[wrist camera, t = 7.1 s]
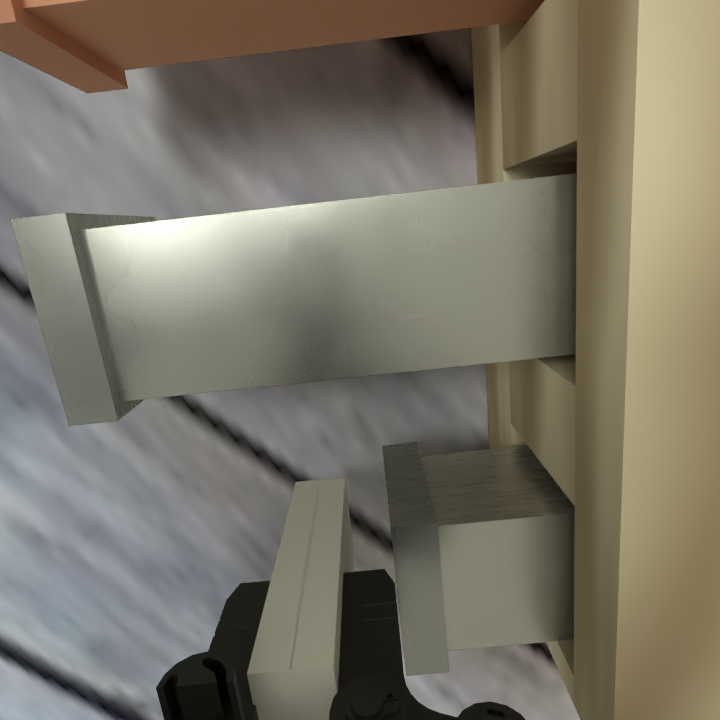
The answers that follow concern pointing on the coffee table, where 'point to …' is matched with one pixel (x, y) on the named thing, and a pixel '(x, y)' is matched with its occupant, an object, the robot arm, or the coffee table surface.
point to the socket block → (623, 332)
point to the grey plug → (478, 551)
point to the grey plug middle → (301, 291)
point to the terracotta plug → (215, 30)
